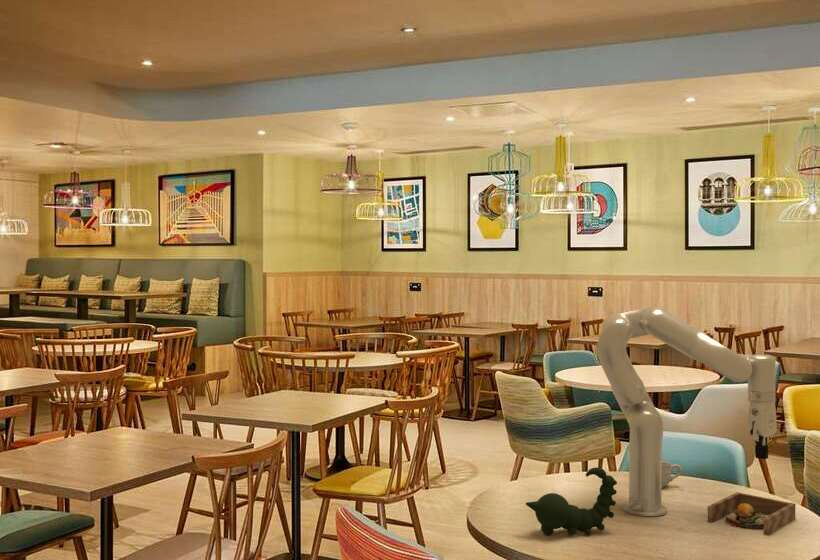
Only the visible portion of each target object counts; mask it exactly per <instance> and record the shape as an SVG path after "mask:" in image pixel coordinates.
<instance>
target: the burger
mask: <svg viewBox="0 0 820 560" xmlns="http://www.w3.org/2000/svg"><path fill="white" fill-rule="evenodd" d="M742 503H743V501H742ZM766 517H767V516H764V515H762V514H760V513H758V512H754V511H753V507H752V506H751V505H749V504H746V503H743V504H740V505H739V506H738V507H737V510H736V511H733V512H731V513H728V514H727V515H725V522H727V524H728V525H730V526H731V525H732V526H733V527H735V528H738V527H740V528H739V529H744V530H756V531H757V530H764V518H766Z"/></svg>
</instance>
